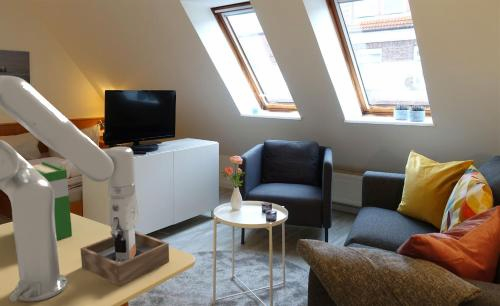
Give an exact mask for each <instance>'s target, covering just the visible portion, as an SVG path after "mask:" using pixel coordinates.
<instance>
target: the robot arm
mask: <svg viewBox="0 0 500 306" xmlns="http://www.w3.org/2000/svg"><path fill="white" fill-rule="evenodd" d="M0 109H2V110H3V111H4V112H5V113H6V114H7V115H9V116H10V117H11V118H13V120H15V121H16V122H18V124H20V125H21V126H22V127H23V128H24V129H26V130H27V131H28V132H29V133H31V135H33V136H34V137H35V138H36V139H37V140H39V141H40V142H41V143H43V144H44V145H45V146H46V147H48V148H49V149H51V150H53V151H55V152H56V153H57V154H59V155H61V156H62V157H63V158H64V159H65V160H66V161H68V162H69V163H70V164H72V166H74V167H75V169H76V170H77V171H78V172H79V173H80V174H81V175H83V176H85V177H86V178H87V179H89V180H90V181H93V182H96V183H102V182H105V181H107V191H108V192H107V193H108V197H109V224H110V229H111V231H110V235H111V237H112V236H113V238H114V243H115V252H116V253H126V239H124V237H125V231H128V230H129V229H130V228H131V227H132V226H133V225H134V228H135V229H136V226H135V224H137V222H138V221H139V211H138V200H137V195H136V179H135V176H136V175H135V163H134V161H135V160H134V151H133V149H132V148H131V147H127V146H114V147H110V148H100V147H99V146H98V145H97V144H96V143H95V142H94V141H93V140H91V138H89V137H88V136H87V135H86V134H85V133H83V131H81V130H80V128H78V127H77V126H76V125H75V124H74V123H73V122H72V121H71V120H69V118H68V117H66V116H65V115H64V114H63V113H62V112H60V110H59V109H57V108H56V107H55V106H54V105H53V104H51V102H50V101H48V100H47V99H46V98H45V97H44V96H43V95H42V94H41V93H40V92H38V91H37V90H36V89H35V88H34V87H33V86H32V84H30V83H29V82H27V80H25V79H23V78H21V77H18V76H15V75H14V76H13V75H4V74H3V75H2V74H1V75H0ZM0 190H1V191H2V192H3V193H5V195H7V196H8V199H9V200H10V205H11V215H12V228H13V235H14V243H15V244H14V245H15V252H16V261H17V268H18V277H19V281H17V284H16V286H15V287H14V290H13V292H12V293H10V294H9V300H10V301H12V302H16V301H17V300H20V301H23V302H37V301H41V300H47V299H49V298H50V299H51V298H52V297H55V296H56V295H59V294H60V293H61V292H63V291H64V290H65V289H66V288H67V285H68V279H67V277H66V276H64V275H63V274H61V271H60V262H59V261H60V260H59V252H58V251H59V250H58V241H57V238H56V229H55V217H54V203H55V199H54V192H53V188H52V186H51V184H50V183H49V182H48V180H47V179H46V178H45V177H44V176H42V175H41V174H40V173H39V172H38V171H37V170H36V169H35V168H34V167H33V165H32V164H31V163H29V162H28V161H27V160H26V159H25V158H24V157H23V156H22V155H21V154H20V153H18V151H17V150H16V149H15V148H13V146H11V145H10V144H9V143H8V142H6V141H4V140H2V139H0ZM118 227H121V229H118ZM117 231H120V232H122V233H121V235H120V234H118V232H117Z"/></svg>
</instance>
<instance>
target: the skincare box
mask: <svg viewBox="0 0 500 306" xmlns="http://www.w3.org/2000/svg"><path fill="white" fill-rule="evenodd" d="M118 229H121V227H118ZM135 229H136V227H135V228H134V225H133V226H132V227H131V228H130V229H129V230H128V231H125V237H124V239H126V253H116V261H115V262H117V263H122V262H124V261H126V260H129V259H131V258H133V257H134V255H135V254H136V247H135V231H136V230H135ZM117 232H118V234H120V235H121V233H122V232H120V231H117Z"/></svg>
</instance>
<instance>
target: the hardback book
mask: <svg viewBox="0 0 500 306" xmlns="http://www.w3.org/2000/svg"><path fill="white" fill-rule="evenodd" d="M32 166H33V167H34V168H35V169H36V170H37V171H38V172H39V173H40V174H41V175H42V176H44V177H45V178H46V179H47V180H48V182H49V183H50V184H51V186H52V188H53V192H54V199H55V203H54V217H55V229H56V238H57V242H58V241H61V240H63V239H68V238H71V237H73V229H72V220H71V219H72V218H71V208H70V195H69V183H68V174H67V169H66V168H62V167H59V166H57V165H55V164H52V163H49V162H47V161H41V163H40V164H34V165H32Z"/></svg>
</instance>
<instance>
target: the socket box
mask: <svg viewBox="0 0 500 306" xmlns="http://www.w3.org/2000/svg"><path fill="white" fill-rule="evenodd" d="M135 247H136V254H135V255H134V257H133V258H131V259H129V260H126V261H124V262H116V252H115V243H114V238H113V236H112V235H111V236H109V237H107V238H104V239H102V240H98V241H96V242H94V243H90V244H89V245H85V246H83V247H81V248H80V257H81V259H80V260H81V267H82V268H83V269H85V270H86V271H89V272H91V273H93V274H94V275H97V276H99V277H100V278H102V279H105V280H106V281H109V282H111V283H112V284H115V285H116V286H118V287H121V286H125V284H127V283H129V282H131V281H134V280H135V279H137V278H140V277H142V276H144V275H145V274H147V273H150V272H151V271H153V270H155V269H158V268H160V267H161V266H163V265H165V264H167V263H169V262H170V246H169V242H166V241H163V240H161V239H158V238H155V237H153V236H150V235H147V234H145V233H142V232H139V231H136V230H135Z"/></svg>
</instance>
